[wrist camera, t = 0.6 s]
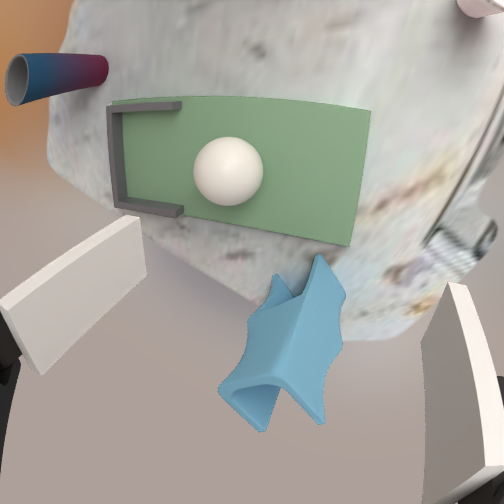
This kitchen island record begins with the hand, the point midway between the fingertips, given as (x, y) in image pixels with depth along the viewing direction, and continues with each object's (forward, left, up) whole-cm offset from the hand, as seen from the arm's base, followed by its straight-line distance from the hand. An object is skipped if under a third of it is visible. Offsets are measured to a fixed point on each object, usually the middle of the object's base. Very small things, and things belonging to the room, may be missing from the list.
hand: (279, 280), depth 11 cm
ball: (+10, -5, -22) cm, 24 cm away
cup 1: (+22, -30, -27) cm, 46 cm away
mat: (+13, -6, -26) cm, 30 cm away
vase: (+12, +14, -27) cm, 33 cm away
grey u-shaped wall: (+21, -12, -25) cm, 35 cm away
